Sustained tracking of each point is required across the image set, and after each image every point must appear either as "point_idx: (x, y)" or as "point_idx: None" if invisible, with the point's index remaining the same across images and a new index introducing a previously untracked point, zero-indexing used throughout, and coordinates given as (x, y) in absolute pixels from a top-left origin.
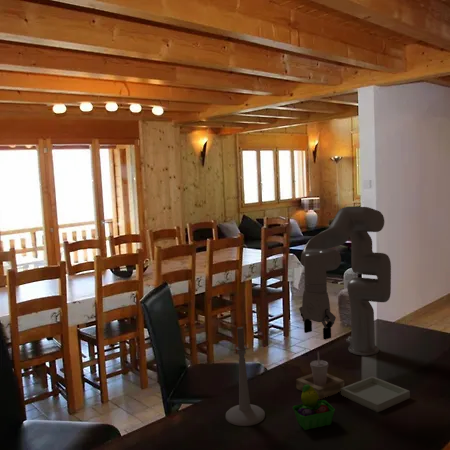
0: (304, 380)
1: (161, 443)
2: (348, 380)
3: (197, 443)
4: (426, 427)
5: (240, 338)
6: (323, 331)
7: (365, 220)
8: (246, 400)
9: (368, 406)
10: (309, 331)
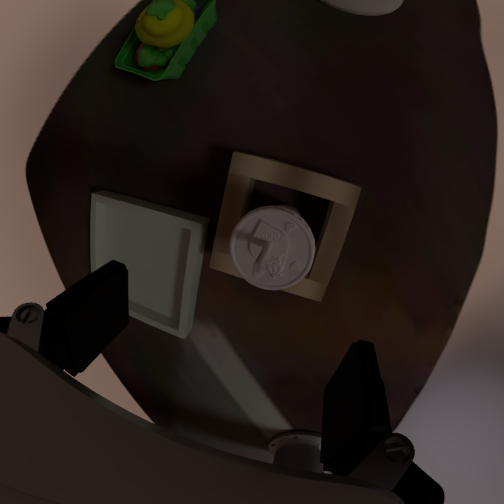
0: (327, 193)
1: None
2: (247, 317)
3: None
4: (45, 197)
5: None
6: (76, 292)
7: None
8: None
9: (120, 195)
10: (336, 374)
